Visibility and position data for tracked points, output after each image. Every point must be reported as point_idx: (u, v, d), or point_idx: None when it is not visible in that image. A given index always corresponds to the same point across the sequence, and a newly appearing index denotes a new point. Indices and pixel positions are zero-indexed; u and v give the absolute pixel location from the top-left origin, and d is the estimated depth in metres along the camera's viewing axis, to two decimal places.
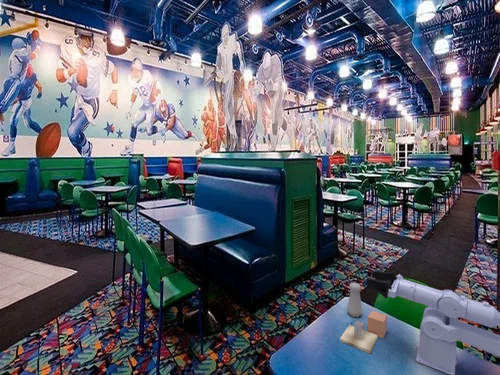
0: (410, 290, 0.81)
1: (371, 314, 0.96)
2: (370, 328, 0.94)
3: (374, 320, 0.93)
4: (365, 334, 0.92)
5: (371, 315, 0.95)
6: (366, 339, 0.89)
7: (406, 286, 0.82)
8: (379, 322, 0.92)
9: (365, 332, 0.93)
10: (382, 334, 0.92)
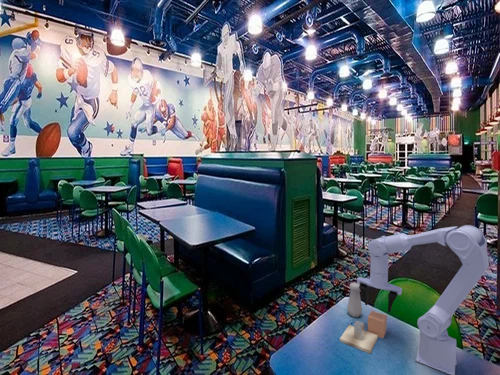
0: None
1: (371, 314, 0.96)
2: (370, 328, 0.94)
3: (374, 320, 0.93)
4: (365, 334, 0.92)
5: (371, 315, 0.95)
6: (366, 339, 0.89)
7: None
8: (379, 322, 0.92)
9: (365, 332, 0.93)
10: (382, 334, 0.92)
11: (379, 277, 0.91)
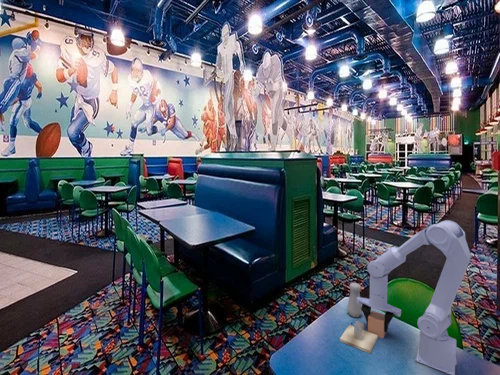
0: None
1: (371, 314, 0.96)
2: (370, 328, 0.94)
3: (374, 320, 0.93)
4: (365, 334, 0.92)
5: (371, 315, 0.95)
6: (366, 339, 0.89)
7: None
8: (379, 322, 0.92)
9: (365, 332, 0.93)
10: (382, 334, 0.92)
11: (378, 298, 0.91)
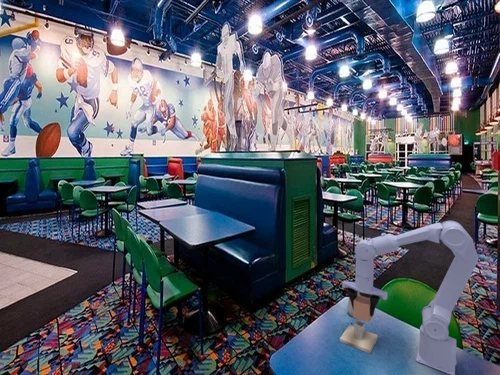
0: None
1: (357, 298, 0.92)
2: (356, 312, 0.90)
3: (360, 304, 0.89)
4: (365, 334, 0.92)
5: (357, 299, 0.91)
6: (366, 339, 0.89)
7: None
8: (365, 305, 0.88)
9: (365, 332, 0.93)
10: (368, 318, 0.88)
11: (364, 281, 0.88)
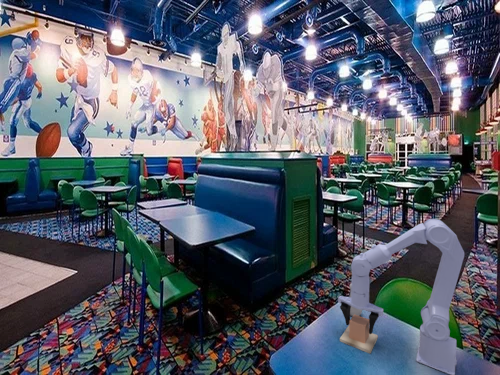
0: None
1: (353, 318, 0.92)
2: (351, 333, 0.90)
3: (356, 324, 0.89)
4: None
5: (353, 319, 0.91)
6: None
7: None
8: (361, 326, 0.88)
9: None
10: (364, 339, 0.87)
11: (360, 297, 0.87)
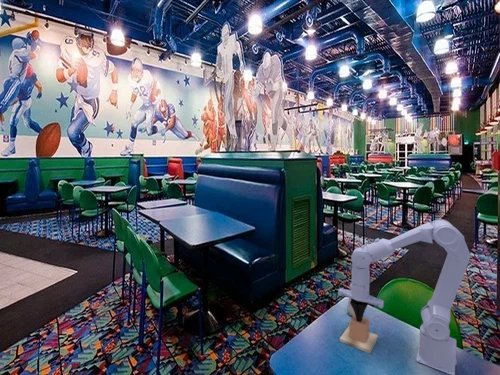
0: None
1: (353, 318, 0.92)
2: (351, 333, 0.90)
3: (356, 324, 0.89)
4: None
5: (353, 319, 0.91)
6: None
7: None
8: (361, 326, 0.88)
9: None
10: (364, 339, 0.87)
11: (360, 289, 0.87)
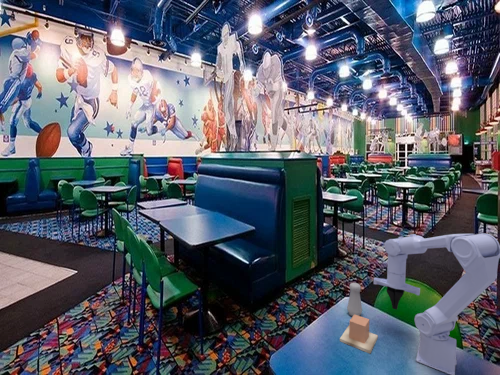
0: None
1: (353, 318, 0.92)
2: (351, 333, 0.90)
3: (356, 324, 0.89)
4: None
5: (353, 319, 0.91)
6: None
7: None
8: (361, 326, 0.88)
9: None
10: (364, 339, 0.87)
11: (397, 277, 0.90)
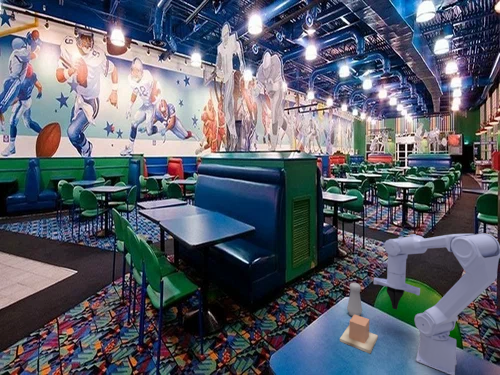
0: None
1: (353, 318, 0.92)
2: (351, 333, 0.90)
3: (356, 324, 0.89)
4: None
5: (353, 319, 0.91)
6: None
7: None
8: (361, 326, 0.88)
9: None
10: (364, 339, 0.87)
11: (397, 277, 0.90)
